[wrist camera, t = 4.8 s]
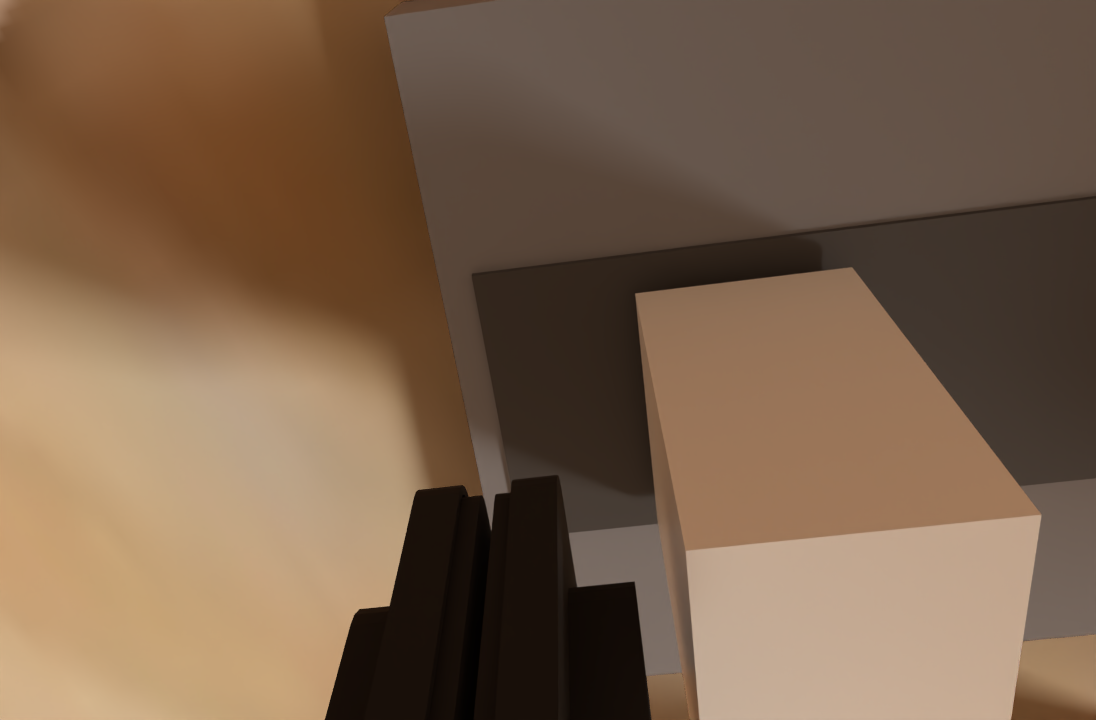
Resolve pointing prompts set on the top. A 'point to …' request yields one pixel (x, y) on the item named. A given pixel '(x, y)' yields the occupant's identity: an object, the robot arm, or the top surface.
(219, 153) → the top surface
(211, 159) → the top surface
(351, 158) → the top surface
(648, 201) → the grey tray
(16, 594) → the top surface
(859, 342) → the block
